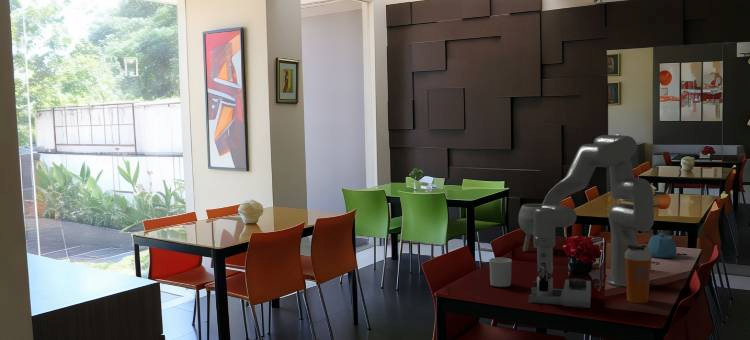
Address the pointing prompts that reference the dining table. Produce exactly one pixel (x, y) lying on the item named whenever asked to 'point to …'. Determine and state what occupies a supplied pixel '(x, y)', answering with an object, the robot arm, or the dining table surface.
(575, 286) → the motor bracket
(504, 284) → the mug
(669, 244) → the teapot
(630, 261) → the shaker bottle
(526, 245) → the grey tooth model
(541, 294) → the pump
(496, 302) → the dining table surface
